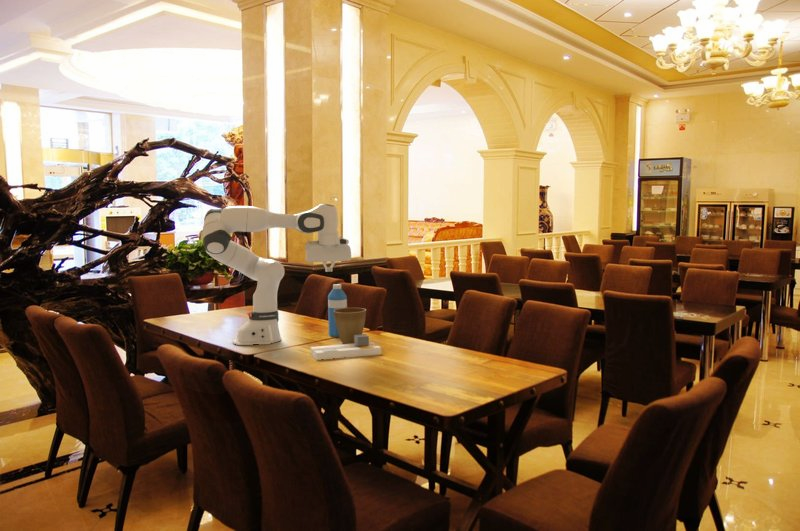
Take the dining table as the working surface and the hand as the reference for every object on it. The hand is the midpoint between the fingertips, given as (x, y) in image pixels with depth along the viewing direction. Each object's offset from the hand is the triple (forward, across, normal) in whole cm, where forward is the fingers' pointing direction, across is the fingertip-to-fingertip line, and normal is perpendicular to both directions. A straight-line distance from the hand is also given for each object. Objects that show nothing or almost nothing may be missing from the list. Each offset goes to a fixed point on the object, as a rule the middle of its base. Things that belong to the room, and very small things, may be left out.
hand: (328, 271), depth 277 cm
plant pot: (+34, +10, +2) cm, 36 cm away
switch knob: (+32, +10, -16) cm, 37 cm away
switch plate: (+34, +3, -16) cm, 38 cm away
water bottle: (+34, +10, +25) cm, 44 cm away
